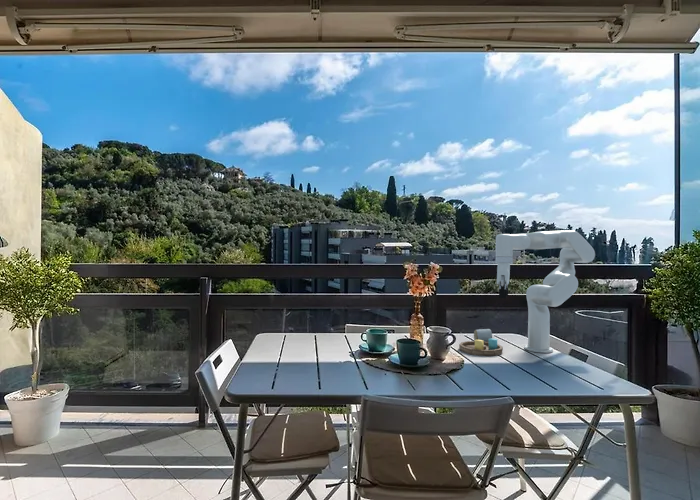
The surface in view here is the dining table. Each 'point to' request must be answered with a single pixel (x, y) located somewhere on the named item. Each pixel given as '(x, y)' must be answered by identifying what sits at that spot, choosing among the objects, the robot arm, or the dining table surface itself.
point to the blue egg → (492, 344)
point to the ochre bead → (479, 344)
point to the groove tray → (470, 349)
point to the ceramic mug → (482, 335)
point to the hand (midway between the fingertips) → (503, 297)
